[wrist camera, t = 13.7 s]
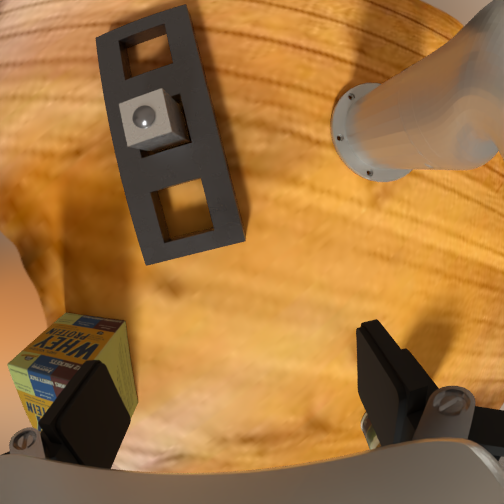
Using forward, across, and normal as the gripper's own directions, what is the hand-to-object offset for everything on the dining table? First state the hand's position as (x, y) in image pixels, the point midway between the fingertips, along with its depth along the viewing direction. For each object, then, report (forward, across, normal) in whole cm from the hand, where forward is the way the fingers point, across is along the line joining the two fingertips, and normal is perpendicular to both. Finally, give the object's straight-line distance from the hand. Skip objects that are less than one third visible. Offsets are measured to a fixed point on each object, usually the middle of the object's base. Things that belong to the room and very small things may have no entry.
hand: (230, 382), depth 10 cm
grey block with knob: (+29, +7, -14) cm, 33 cm away
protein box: (+29, +25, +15) cm, 41 cm away
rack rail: (+29, +7, -14) cm, 33 cm away
